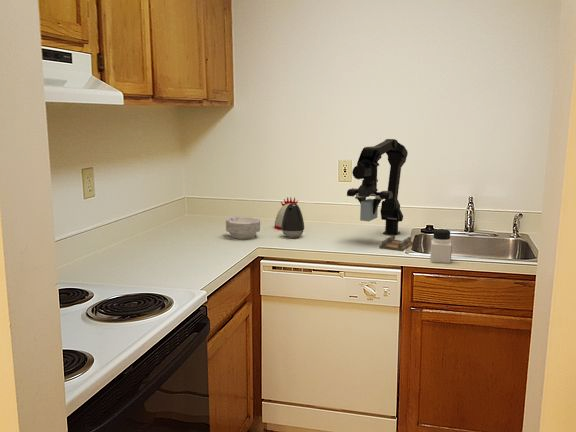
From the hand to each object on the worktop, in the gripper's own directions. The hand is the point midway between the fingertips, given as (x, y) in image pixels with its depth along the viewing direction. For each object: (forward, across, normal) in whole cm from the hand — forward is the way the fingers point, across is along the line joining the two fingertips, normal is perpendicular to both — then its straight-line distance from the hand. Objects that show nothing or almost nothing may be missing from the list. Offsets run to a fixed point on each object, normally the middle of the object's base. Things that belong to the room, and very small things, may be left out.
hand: (369, 213), depth 250 cm
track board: (+12, +13, -1) cm, 18 cm away
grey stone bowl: (+13, -52, -18) cm, 56 cm away
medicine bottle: (+13, +35, -16) cm, 40 cm away
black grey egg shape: (+12, -33, -7) cm, 36 cm away
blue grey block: (+2, 0, 0) cm, 2 cm away
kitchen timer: (+13, -44, +10) cm, 47 cm away
